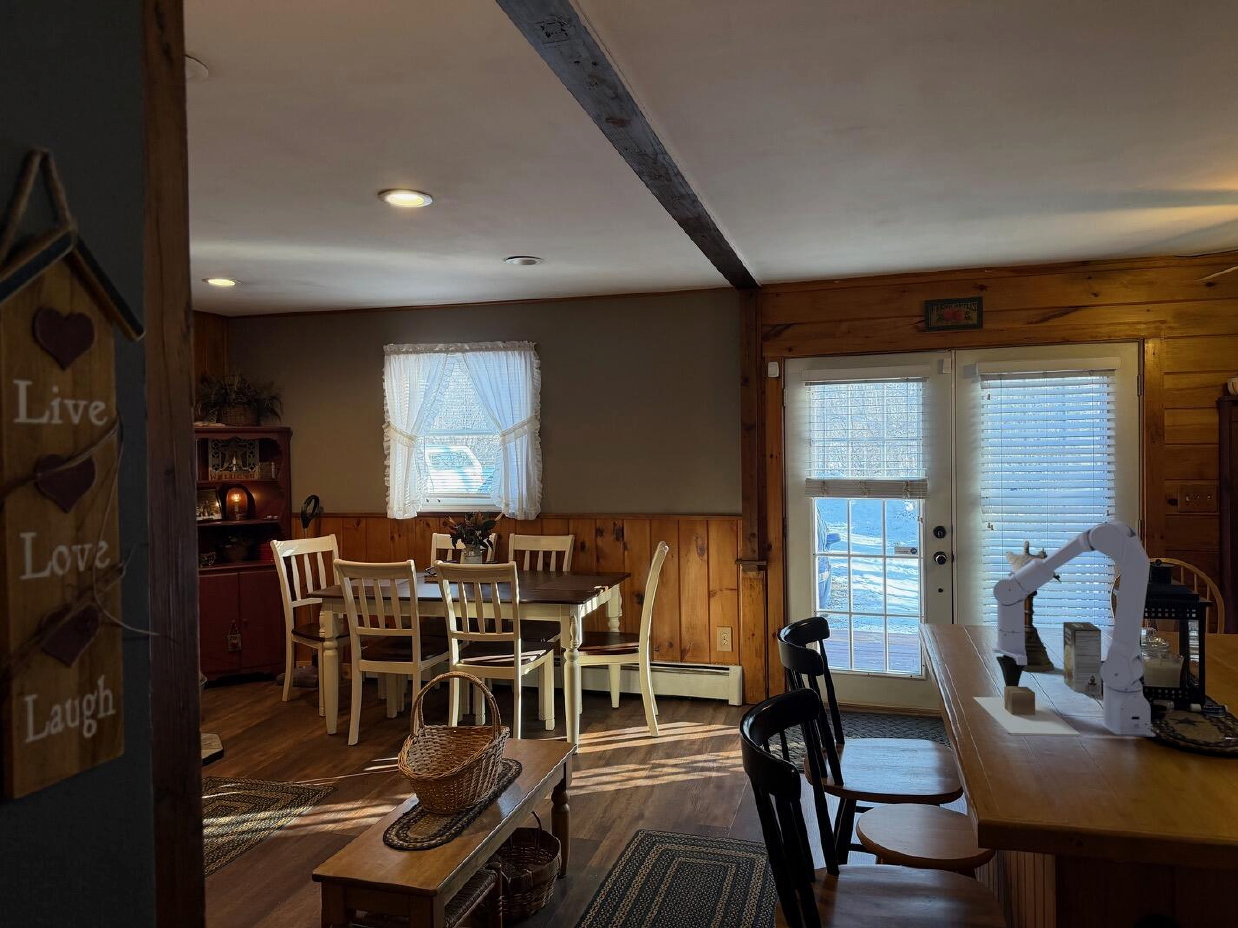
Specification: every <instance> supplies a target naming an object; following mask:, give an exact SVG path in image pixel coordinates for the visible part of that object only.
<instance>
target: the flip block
mask: <svg viewBox="0 0 1238 928" xmlns="http://www.w3.org/2000/svg"><path fill="white" fill-rule="evenodd" d="M1003 692H1004V693H1003V698H1004V708H1005V709H1006V710H1007V711H1008V712H1009V713H1010V714H1012V715H1035V699H1036V692H1035V691H1034V690H1032V689H1031V688H1030V687H1028V686H1019V685H1018V686H1006V685H1005V686H1003Z"/></svg>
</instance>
